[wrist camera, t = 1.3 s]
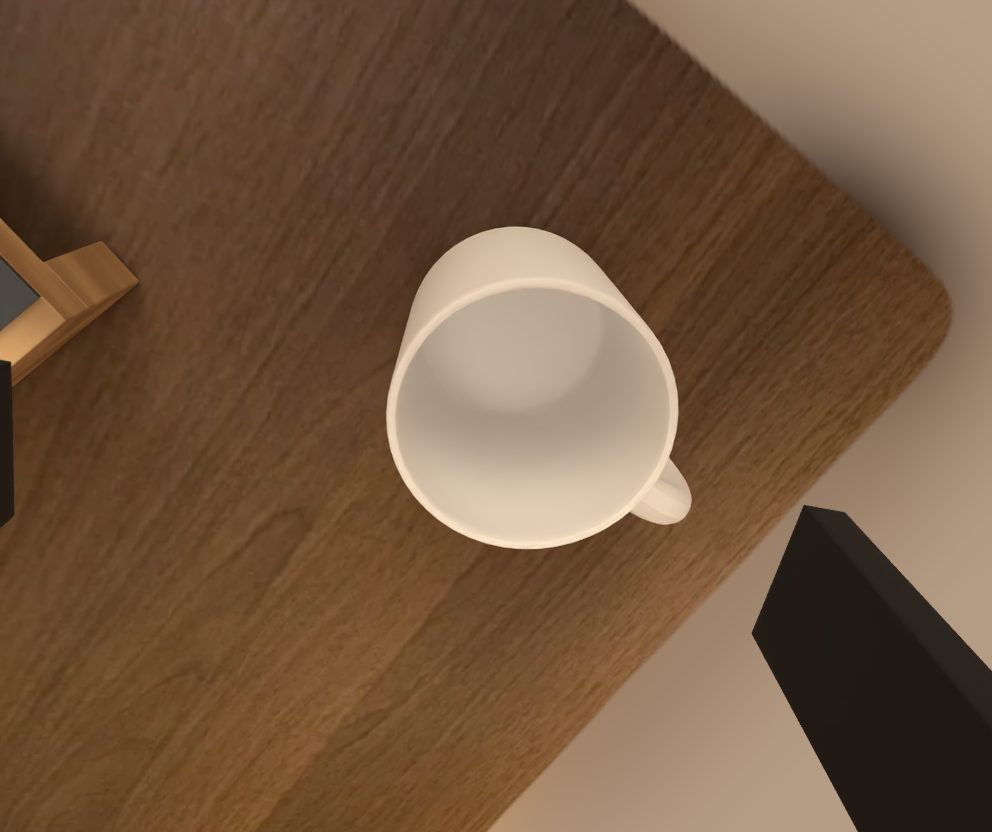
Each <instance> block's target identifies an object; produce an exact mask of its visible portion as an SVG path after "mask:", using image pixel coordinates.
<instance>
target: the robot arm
mask: <svg viewBox="0 0 992 832" xmlns="http://www.w3.org/2000/svg"><path fill="white" fill-rule="evenodd" d="M13 516H14V473H13V424H12V375H11V361H5V360H0V528H1V527H2V526H3V525H4V524H5V523H6V522H8V521H9V520H10V519H11V518H12V517H13ZM752 635H753V637H754V639H755V641H756V642H757V645H758V646H759V648H760V650H761V652H762V654H763V656H764V658H765V659H766V661H767V663H768V665H769V667H770V669H771V670H772V672H773V674H774V676H775V678H776V680H777V682H778V684H779V686H780V687H781V689H782V691H783V693H784V695H785V697H786V699H787V700H788V702H789V704H790V706H791V708H792V710H793V712H794V714H795V715H796V717H797V719H798V721H799V723H800V725H801V727H802V728H803V730H804V732H805V734H806V736H807V738H808V740H809V741H810V743H811V745H812V747H813V749H814V751H815V753H816V755H817V756H818V758H819V760H820V762H821V764H822V766H823V768H824V770H825V771H826V773H827V775H828V777H829V779H830V781H831V782H832V784H833V786H834V788H835V790H836V792H837V794H838V796H839V797H840V799H841V801H842V803H843V805H844V807H845V809H846V811H847V812H848V814H849V816H850V818H851V820H852V821H853V824H854V825H855V827H856V829H857V831H858V832H992V671H991V670H990V669H989V668H988V666H986V664H985V663H984V662H983V661H982V660H981V659H980V658H979V657H978V656H977V655H976V654H975V653H974V651H973V650H972V649H971V648H970V647H969V646H968V645H967V644H966V643H965V642H964V641H963V640H962V638H961V637H960V636H959V635H958V634H957V633H956V632H955V631H954V630H953V629H952V628H951V627H950V625H949V624H948V623H947V622H946V621H945V620H944V619H943V618H942V617H941V616H940V615H939V614H938V612H937V611H936V610H935V609H934V608H933V607H932V606H931V605H930V604H929V603H928V602H927V601H926V600H925V599H924V597H923V596H922V595H921V594H920V593H919V592H918V591H917V590H916V589H915V588H914V586H913V585H912V584H911V583H909V581H908V580H907V579H906V578H905V577H904V576H903V575H902V574H901V572H900V571H899V570H898V569H897V568H896V567H895V566H894V565H893V564H892V563H891V562H890V561H889V559H887V557H886V556H885V555H884V554H883V553H882V552H881V551H880V550H879V549H878V548H877V547H876V545H875V544H874V543H872V541H871V540H870V539H869V538H868V537H867V536H866V535H865V534H864V532H863V531H862V530H861V529H860V528H859V527H858V526H857V525H856V524H855V523H854V522H853V521H852V519H851V518H850V517H849V516H848V515H847V514H846V513H845V512H840V511H835V510H829V509H823V508H818V507H812V506H806V505H804V506H803V508H802V511H801V513H800V516H799V518H798V521H797V523H796V525H795V528H794V530H793V533H792V536H791V538H790V540H789V543H788V545H787V548H786V550H785V553H784V555H783V557H782V560H781V562H780V565H779V568H778V570H777V572H776V575H775V577H774V580H773V582H772V584H771V587H770V589H769V592H768V594H767V597H766V599H765V602H764V604H763V607H762V609H761V611H760V614H759V616H758V619H757V621H756V624H755V626H754V629H753V631H752Z"/></svg>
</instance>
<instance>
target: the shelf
mask: <svg viewBox="0 0 992 832" xmlns="http://www.w3.org/2000/svg"><path fill="white" fill-rule="evenodd" d="M138 282H139V280H138V279H137V278H136V277H135V276H134V275H133V274H132V273H131V272H130V270H129V269H128V268H127V267H126V266H125V265H124V264H123V263H122V262H121V261H120V260H119V259H118V257H117V256H116V255H115V254H114V253H113V252H112V251H111V250H110V249H109V248H108V247H107V246H106V245H105V243H104V242H102V241H99V242H96V243H94V244H91V245H88V246H85V247H83V248H80V249H77V250H75V251H72V252H69V253H66V254H64V255H61V256H58V257H56V258H53V259H50V260H47V261H45V262H42V261H41V260H40V259H39V258H38V257H37V256H36V254H35V253H34V252H33V251H32V250H31V249H30V248H29V247H28V246H27V245H26V244H25V243H24V242H23V241H22V240H21V239H20V238H19V237H18V236H17V235H16V234H15V233H14V232H13V231H12V230H11V229H10V228H9V227H8V226H7V225H6V224H5V222H4V221H3V220H2V219H1V218H0V360H5V361H11V375H12V387H13V386H14V385H16V384H17V383H18V382H19V381H21V380H22V379H23V378H24V377H25V376H27V375H28V374H29V373H30V372H31V371H33V370H34V369H35V368H36V367H37V366H39V365H40V364H41V363H42V362H43V361H45V360H46V359H47V358H48V357H50V356H51V355H52V354H53V353H54V352H56V351H57V350H58V349H59V348H60V347H62V346H63V345H64V344H65V343H66V342H68V341H69V340H70V339H71V338H72V337H74V336H75V335H76V334H77V333H79V332H80V331H81V330H82V329H83V328H85V327H86V326H87V325H88V324H89V323H91V322H92V321H93V320H94V319H95V318H97V317H98V316H99V315H100V314H101V313H103V312H104V311H105V310H106V309H108V308H109V307H110V306H111V305H112V304H114V303H115V302H116V301H117V300H118V299H120V298H121V297H122V296H123V295H124V294H126V293H127V292H128V291H129V290H130V289H132V288H133V287H134V286H135V285H137V284H138Z"/></svg>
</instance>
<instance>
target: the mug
mask: <svg viewBox="0 0 992 832" xmlns="http://www.w3.org/2000/svg"><path fill="white" fill-rule="evenodd" d="M677 421H678V394H677V388H676V382H675V377H674V374H673V371H672V368H671V365H670V362H669V360H668V358H667V356H666V354H665V352H664V350H663V348H662V346H661V344H660V342H659V341H658V340H657V338H656V337H655V335H654V334H653V332H652V331H651V330H650V328H649V327H648V326H647V325H646V323H645V322H644V321H643V320H642V318H641V317H640V316H639V315H638V314H637V312H636V311H635V310H634V309H633V307H632V306H631V305H630V304H629V303H628V301H627V300H626V299H625V298H624V296H623V295H622V294H621V293H620V292H619V290H618V289H617V288H616V287H615V285H614V284H613V283H612V282H611V281H610V279H609V278H608V277H607V276H606V274H605V273H604V272H603V271H602V269H601V268H600V267H599V266H598V265H597V264H596V263H595V262H594V261H593V260H592V259H591V258H590V256H589V255H587V254H586V253H585V252H584V251H582V250H581V249H580V248H579V247H577V246H576V245H574V244H573V243H571V242H569V241H568V240H566V239H564V238H562V237H560V236H558V235H555V234H553V233H551V232H547V231H543V230H540V229H535V228H528V227H504V228H496V229H492V230H488V231H484V232H481V233H478V234H476V235H474V236H471V237H469V238H467V239H465V240H463V241H462V242H460V243H458V244H457V245H455V246H454V247H452V248H451V249H450V250H449V251H447V252H446V253H445V254H444V255H443V256H442V257H441V258H440V259H439V260H438V261H437V262H436V263H435V264H434V265H433V267H432V268H431V269H430V271H429V272H428V273H427V275H426V276H425V278H424V280H423V282H422V283H421V285H420V287H419V289H418V291H417V294H416V296H415V299H414V301H413V304H412V308H411V311H410V315H409V318H408V322H407V326H406V329H405V333H404V337H403V340H402V344H401V348H400V351H399V355H398V359H397V362H396V366H395V370H394V373H393V377H392V381H391V385H390V389H389V393H388V399H387V410H386V423H387V435H388V440H389V445H390V450H391V453H392V456H393V459H394V462H395V465H396V467H397V469H398V471H399V473H400V475H401V477H402V479H403V481H404V482H405V484H406V485H407V487H408V488H409V490H410V491H411V492H412V494H413V495H414V497H415V498H416V499H417V500H418V501H419V502H420V503H421V504H422V505H423V506H424V508H425V509H426V510H428V511H429V512H430V513H431V514H432V515H433V516H435V517H436V518H437V519H438V520H439V521H441V522H442V523H444V524H445V525H447V526H449V527H450V528H452V529H453V530H455V531H457V532H459V533H461V534H463V535H465V536H467V537H469V538H472V539H475V540H478V541H481V542H484V543H487V544H491V545H496V546H500V547H507V548H516V549H540V548H548V547H556V546H560V545H565V544H569V543H573V542H576V541H579V540H581V539H584V538H587V537H590V536H592V535H594V534H596V533H598V532H600V531H602V530H604V529H606V528H607V527H609V526H610V525H612V524H613V523H615V522H617V521H618V520H620V519H621V518H622V517H623V516H625V515H626V514H627V513H628V512H631V513H633V514H634V515H636V516H638V517H640V518H642V519H645V520H647V521H650V522H654V523H658V524H663V525H667V524H672V523H677V522H679V521H680V520H682V519H683V518H684V517H685V516H686V514H687V513H688V511H689V510H690V507H691V494H690V490H689V488H688V485H687V483H686V481H685V479H684V478H683V476H682V475H681V473H680V472H679V470H678V469H677V467H676V466H675V465H674V463H673V462H672V461H671V460H670V459H669V455H670V452H671V450H672V447H673V443H674V439H675V435H676V431H677Z"/></svg>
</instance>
